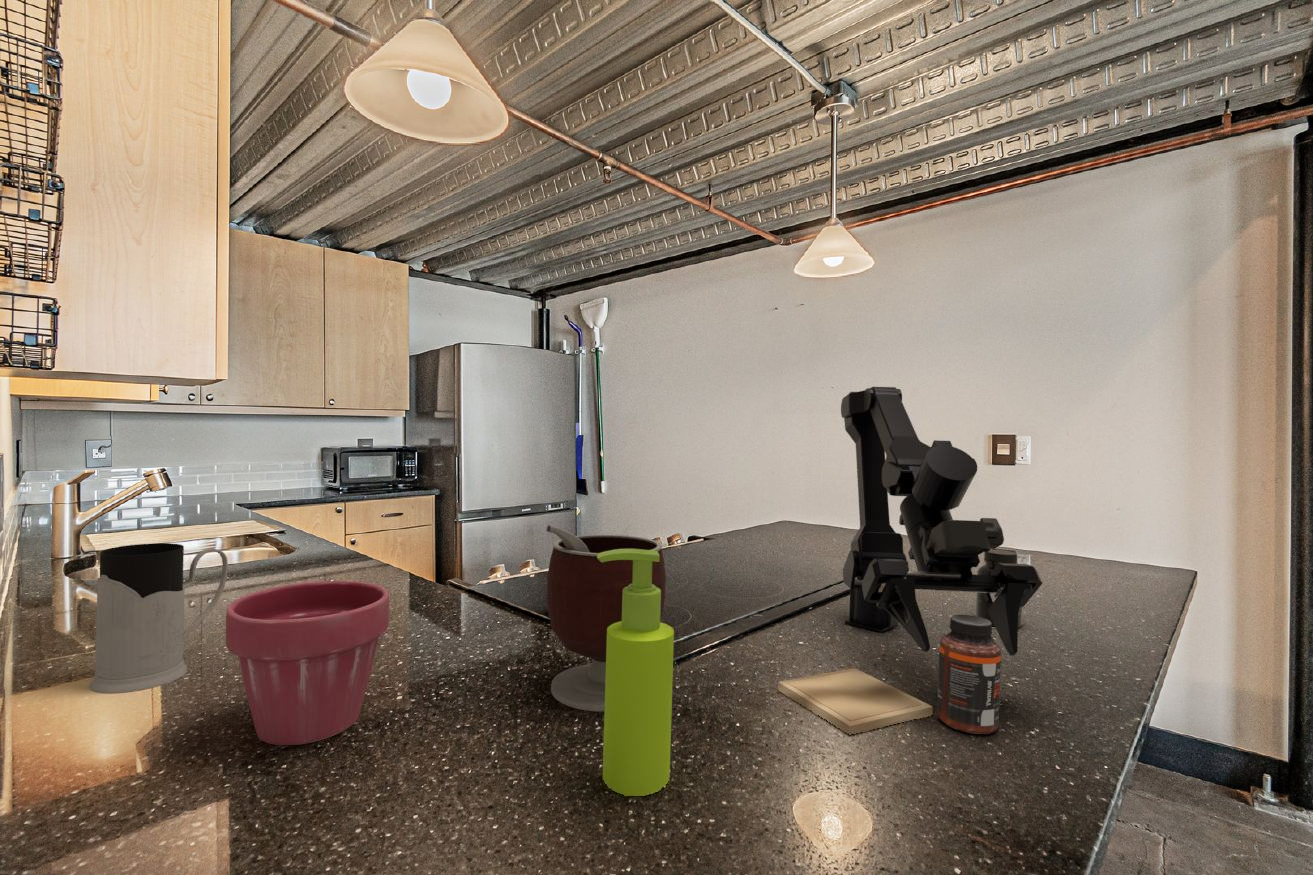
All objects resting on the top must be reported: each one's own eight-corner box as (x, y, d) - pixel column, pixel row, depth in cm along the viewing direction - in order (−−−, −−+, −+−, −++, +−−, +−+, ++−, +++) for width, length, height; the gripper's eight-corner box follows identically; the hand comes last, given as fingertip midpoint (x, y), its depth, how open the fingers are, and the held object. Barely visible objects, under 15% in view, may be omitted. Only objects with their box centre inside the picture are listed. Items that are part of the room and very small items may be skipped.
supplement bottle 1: (1007, 740, 64) (1011, 630, 63) (944, 733, 65) (948, 624, 65) (988, 714, 69) (991, 613, 69) (931, 708, 71) (934, 609, 70)
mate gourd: (610, 657, 83) (615, 508, 83) (686, 690, 73) (692, 521, 73) (508, 688, 72) (513, 517, 72) (582, 732, 62) (587, 534, 62)
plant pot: (270, 778, 53) (274, 628, 53) (195, 731, 60) (198, 600, 60) (415, 716, 65) (418, 593, 65) (337, 683, 72) (340, 574, 72)
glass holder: (71, 685, 70) (74, 551, 70) (201, 645, 83) (204, 533, 83) (121, 698, 67) (124, 559, 67) (248, 655, 80) (251, 539, 80)
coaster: (777, 690, 74) (778, 681, 74) (854, 675, 80) (854, 667, 79) (849, 735, 63) (850, 725, 63) (932, 715, 69) (932, 705, 69)
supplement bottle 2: (1022, 621, 106) (1025, 551, 106) (1020, 632, 100) (1023, 557, 100) (977, 614, 110) (979, 546, 110) (973, 623, 104) (976, 552, 104)
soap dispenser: (591, 760, 57) (597, 543, 57) (665, 759, 58) (672, 545, 58) (589, 798, 51) (597, 556, 51) (673, 796, 52) (680, 558, 52)
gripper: (872, 489, 72) (903, 610, 61) (1035, 495, 72) (1096, 618, 61) (851, 545, 80) (875, 661, 69) (998, 550, 80) (1046, 668, 69)
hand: (970, 651), depth 67 cm, fingers open, 9 cm apart
